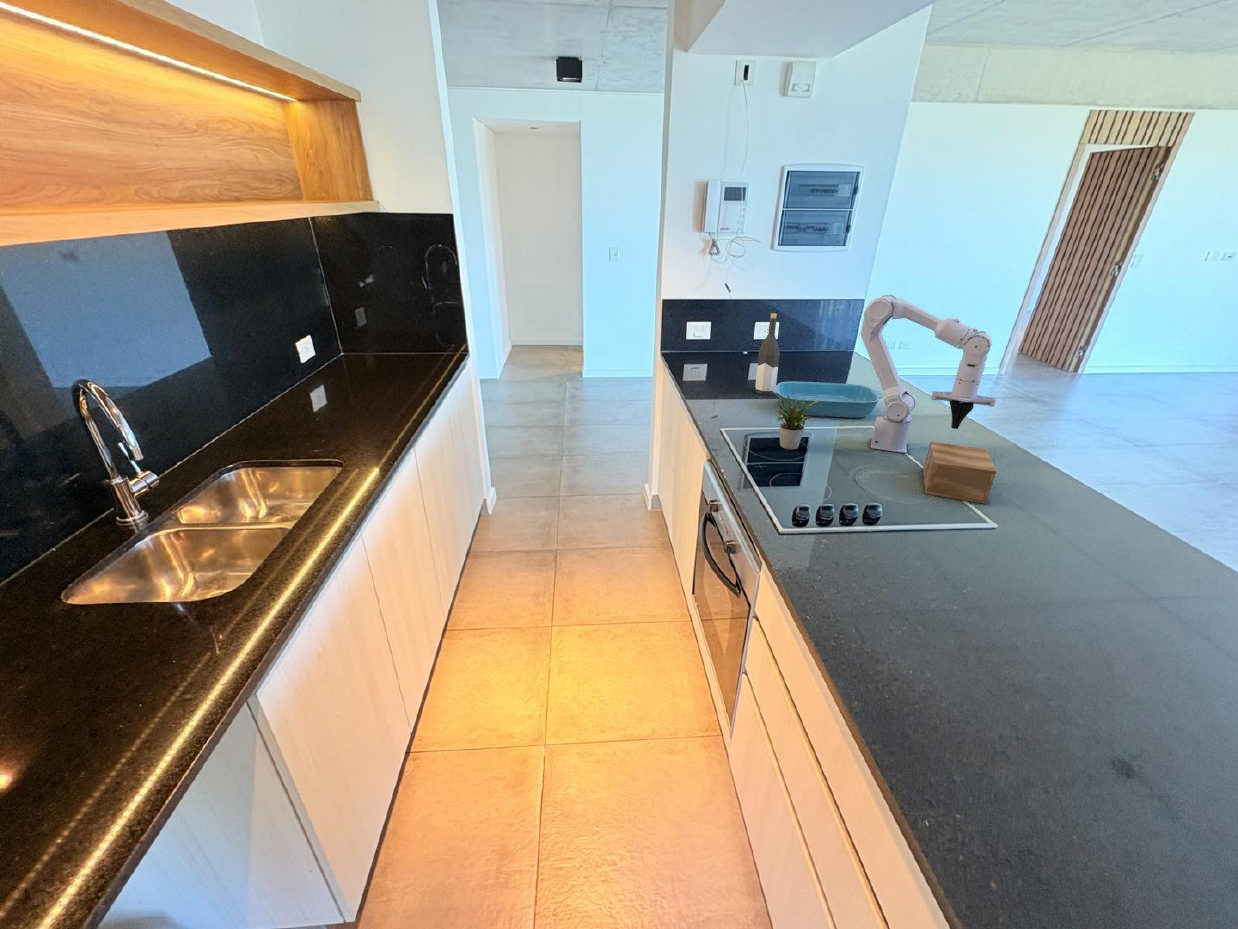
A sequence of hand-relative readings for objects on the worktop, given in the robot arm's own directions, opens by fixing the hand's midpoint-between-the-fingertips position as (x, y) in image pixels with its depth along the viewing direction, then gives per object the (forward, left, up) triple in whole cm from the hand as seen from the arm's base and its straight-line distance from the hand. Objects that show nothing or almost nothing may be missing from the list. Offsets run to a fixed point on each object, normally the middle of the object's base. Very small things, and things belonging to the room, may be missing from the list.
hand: (954, 427), depth 145 cm
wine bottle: (-59, +44, -10) cm, 74 cm away
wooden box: (0, -19, -9) cm, 21 cm away
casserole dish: (-36, +31, -10) cm, 49 cm away
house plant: (-43, -9, -10) cm, 45 cm away
